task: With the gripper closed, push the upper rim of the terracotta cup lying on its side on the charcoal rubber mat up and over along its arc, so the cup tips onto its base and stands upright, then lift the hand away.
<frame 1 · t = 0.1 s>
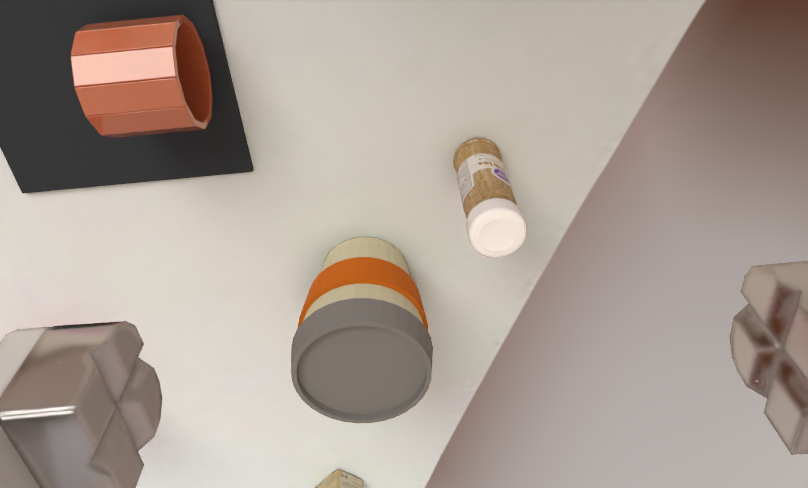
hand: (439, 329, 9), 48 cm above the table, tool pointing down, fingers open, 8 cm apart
mat: (97, 66, 54), on the table
cosmetic box: (337, 484, 87), on the table
reusable coffee cup: (365, 271, 67), on the table
cup: (162, 61, 54), resting on mat
spice jar: (475, 157, 60), on the table
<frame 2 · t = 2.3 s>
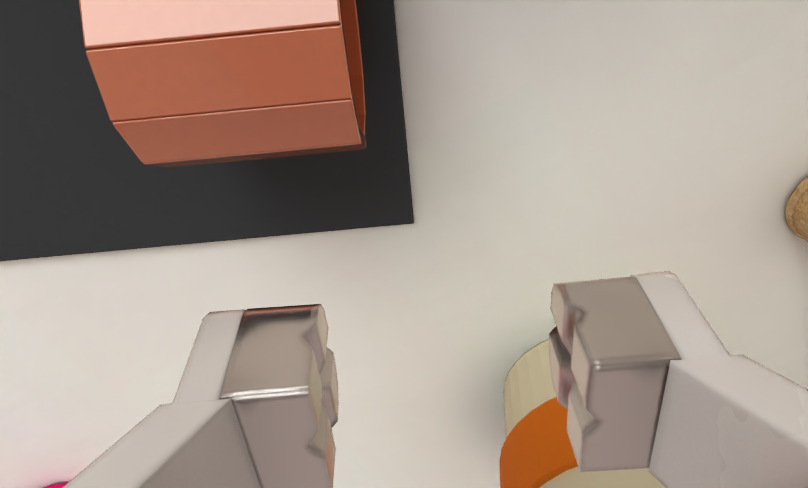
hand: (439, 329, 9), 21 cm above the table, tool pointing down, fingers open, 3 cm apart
mat: (129, 18, 27), on the table
reusable coffee cup: (575, 383, 39), on the table
cup: (264, 7, 26), resting on mat
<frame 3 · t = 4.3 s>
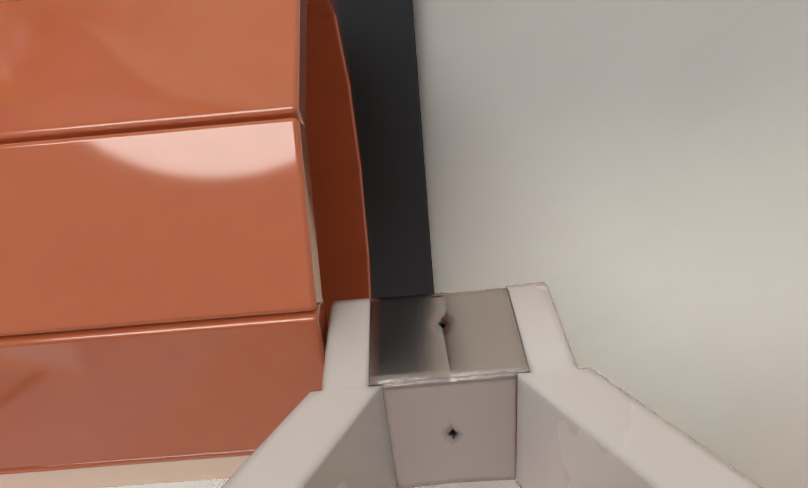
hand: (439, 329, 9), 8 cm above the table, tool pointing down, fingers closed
cup: (198, 132, 15), resting on mat, touching gripper
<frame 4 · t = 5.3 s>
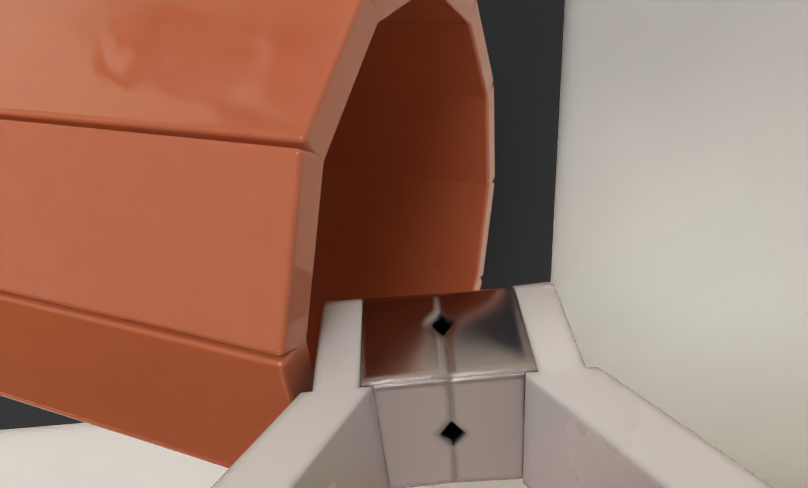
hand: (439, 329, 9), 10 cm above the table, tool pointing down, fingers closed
mat: (138, 111, 17), on the table
cup: (340, 120, 15), point 2 cm above the table, tilted 24°, touching gripper, mat
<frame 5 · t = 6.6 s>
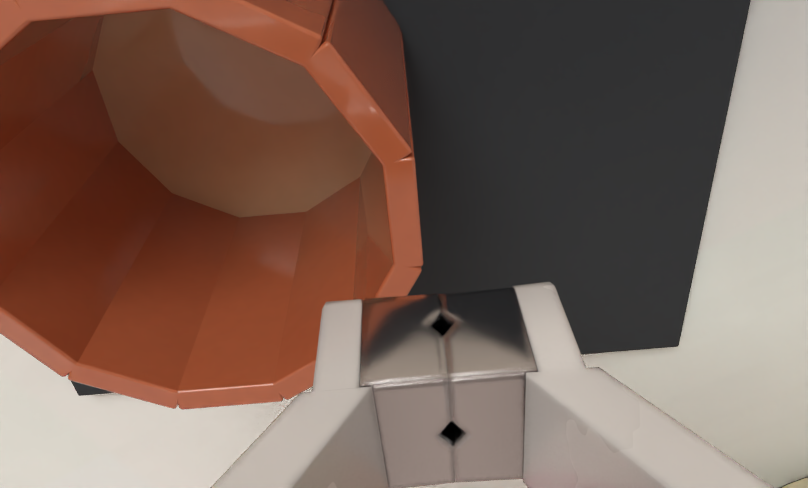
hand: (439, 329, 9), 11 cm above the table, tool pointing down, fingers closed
mat: (332, 73, 18), on the table
cup: (411, 127, 14), point 4 cm above the table, tilted 90°, touching mat
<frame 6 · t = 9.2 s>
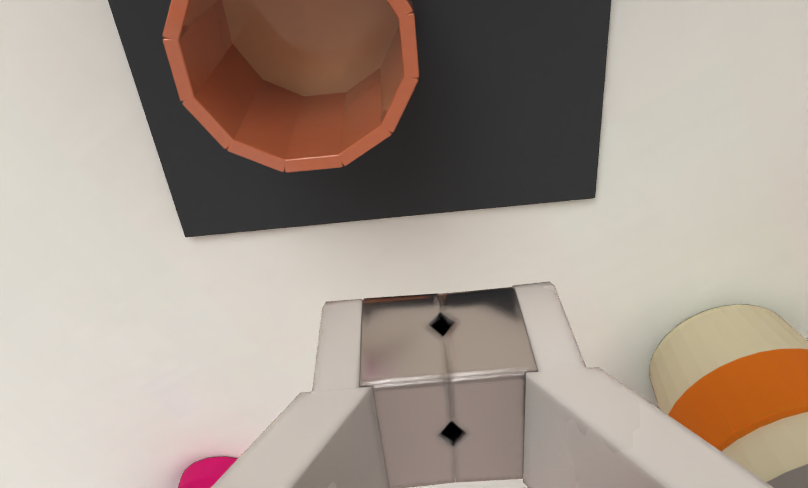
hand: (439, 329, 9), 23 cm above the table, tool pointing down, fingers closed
mat: (363, 1, 28), on the table
reusable coffee cup: (718, 357, 41), on the table
cup: (412, 19, 25), point 4 cm above the table, tilted 90°, touching mat
pepper mill: (226, 481, 46), on the table
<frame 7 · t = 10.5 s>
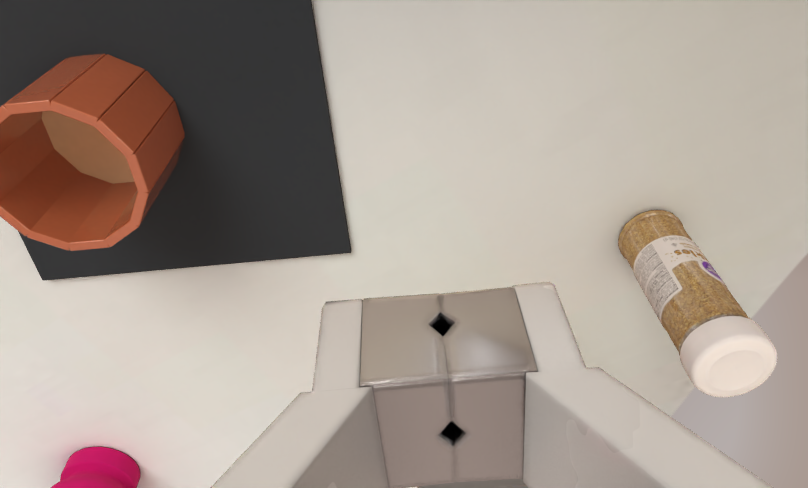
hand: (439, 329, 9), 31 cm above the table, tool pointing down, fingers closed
mat: (150, 118, 39), on the table
reusable coffee cup: (481, 370, 52), on the table
cup: (162, 143, 36), point 4 cm above the table, tilted 90°, touching mat
spice jar: (647, 233, 45), on the table
pepper mill: (105, 466, 57), on the table
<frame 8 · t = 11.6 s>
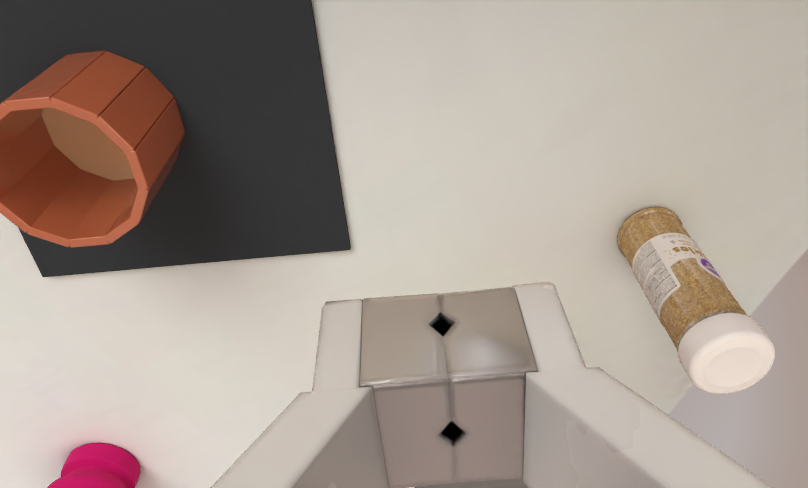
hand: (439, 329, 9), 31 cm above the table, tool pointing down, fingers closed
mat: (149, 115, 39), on the table
reusable coffee cup: (480, 367, 52), on the table
cup: (162, 140, 36), point 4 cm above the table, tilted 90°, touching mat
spice jar: (645, 230, 45), on the table
pepper mill: (105, 463, 57), on the table
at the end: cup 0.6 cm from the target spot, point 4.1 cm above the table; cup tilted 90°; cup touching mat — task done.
